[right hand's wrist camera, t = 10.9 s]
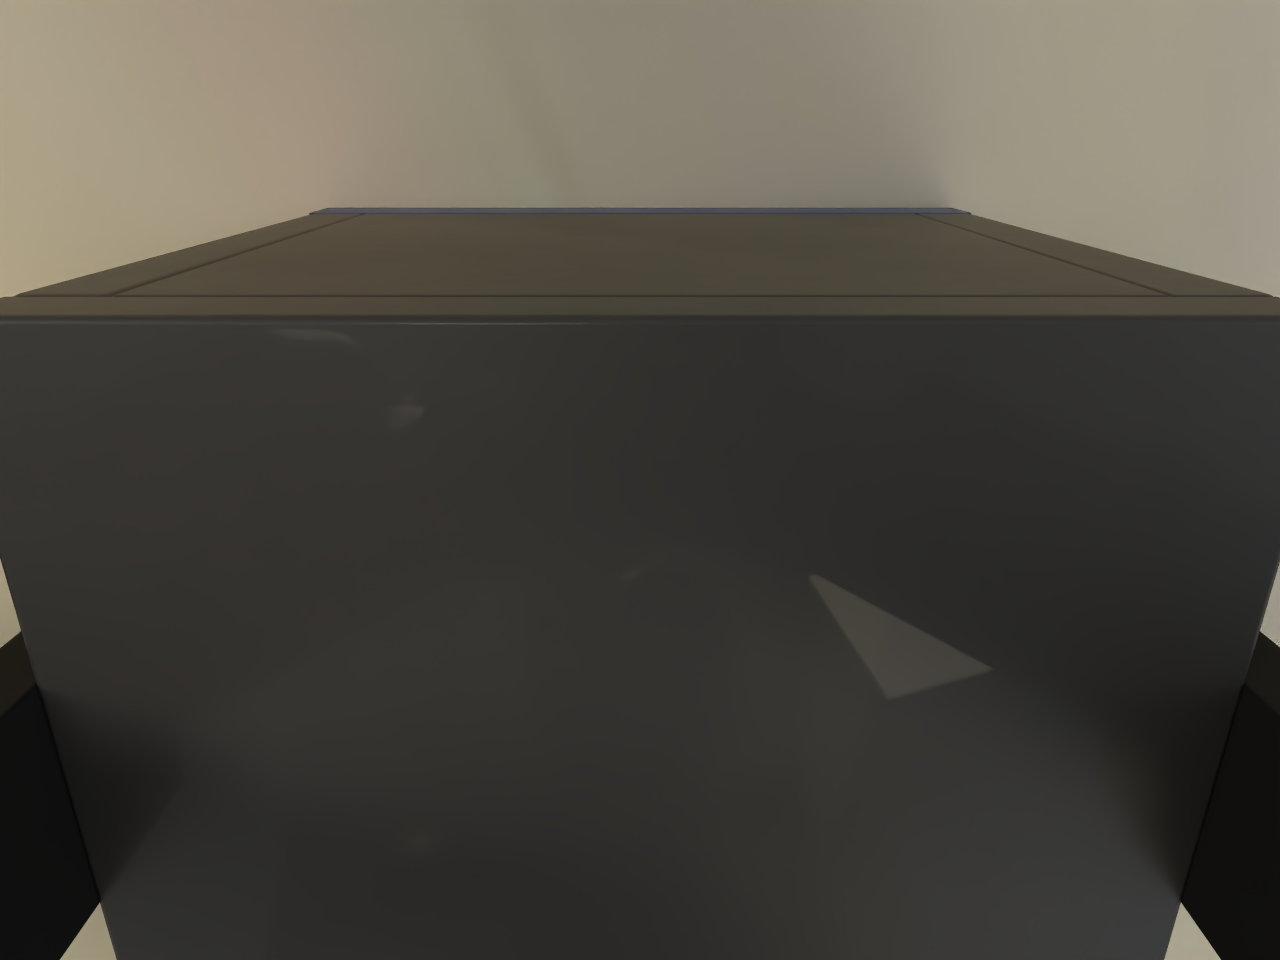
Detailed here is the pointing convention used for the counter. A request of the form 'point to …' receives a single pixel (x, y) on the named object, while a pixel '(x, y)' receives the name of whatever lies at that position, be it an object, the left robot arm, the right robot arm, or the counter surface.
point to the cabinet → (640, 582)
